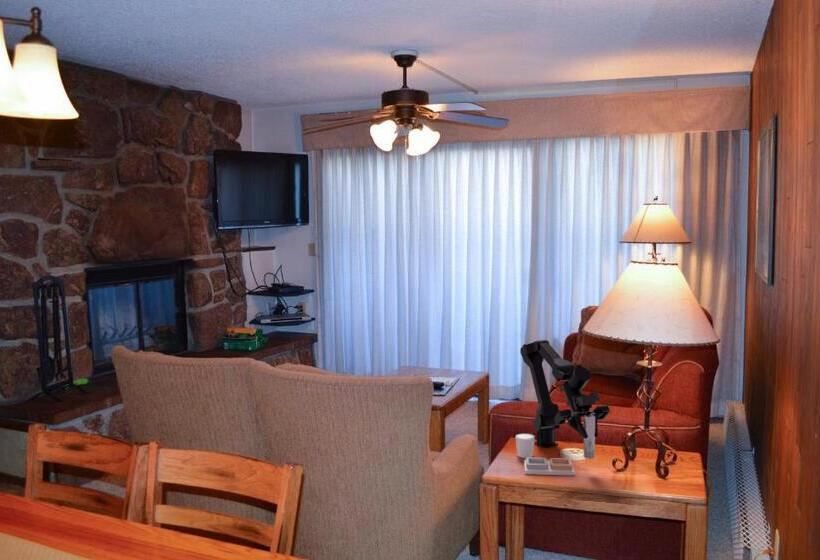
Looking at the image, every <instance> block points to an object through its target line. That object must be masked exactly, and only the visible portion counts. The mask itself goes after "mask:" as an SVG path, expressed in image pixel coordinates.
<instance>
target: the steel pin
mask: <svg viewBox="0 0 820 560" xmlns="http://www.w3.org/2000/svg"><path fill="white" fill-rule="evenodd" d="M583 427H584V429H585V432H586V435H587V438H586V439H585V438H584V437H583V458H584V459H589V460H590V459H592V460H593V459H595V457H596V455H595V454H596V452H595V451H596V450H595V449H596V447H595V446H596V437H595V415H591V414H587V415H584V417H583Z"/></svg>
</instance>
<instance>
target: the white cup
mask: <svg viewBox="0 0 820 560" xmlns="http://www.w3.org/2000/svg"><path fill="white" fill-rule="evenodd" d="M535 438H536V436H535V435H534V434H531V433H518V434H516V435H515V444H516V445H515V446H516V455H517V457H519V458H522V459H526V458H527V457H530V458H533V457H534V450H535V444H534V442H535Z"/></svg>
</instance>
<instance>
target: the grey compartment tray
mask: <svg viewBox="0 0 820 560" xmlns="http://www.w3.org/2000/svg"><path fill="white" fill-rule="evenodd" d="M523 461H524V463H523V464H524V466H523V467H524V473H525V475H542V476H543V475H545V476H546V475H549V476H550V475H552V476H553V475H554V476H575V471H574V466H573V463H572V460H571V459H570V458H567V457H565V458H562V457H550V458H549V460H548V459H547V458H546V457H527V458H525V459H524V460H523Z"/></svg>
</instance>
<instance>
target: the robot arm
mask: <svg viewBox="0 0 820 560" xmlns="http://www.w3.org/2000/svg"><path fill="white" fill-rule="evenodd" d="M519 352H520V356H521V357H522V361H523V363H524V364H525V365H526V366H527V367H529V371H530V374H531V379H532V383H533V387H534V392H535V395H536V400H537V403H538V404H537V408H536V411H535V413H536V417H535V418H534V419H533V421H532V427H533V429H534V430H536V441H534V445H537V446H539V447H542V448H551V447H555V446H558V445H559V443H558V442H556V429H557V430H558V429H560V426H561V425H565V423H566V420H567V424H566V425H567V426H568V427H569V426H570V428H571V429H574V430H575V431H576V432H577V433H578V434H579V435H581V437H582V438H583V439H584V438H585V439H586V438H587V435H586V432H585V429H584V424H583V422H582V418H584V415H587V414H591V415H595V438H598V436H599V434H598V433H599V432H598V428H599V427H598V422H599V421H600V420H604V419H606V418H607V416H608V415H609V414H610V412H611V409H610V406H608V405H607V404H600V405H597V402H600V400H601V399H600V395H599V392H598V391H593V392H590V394H587V395H586V394H585V393H584V394H583V391H582V389H584V387H585V386H586V385H587V383H588V382H590V379H591V377H592V374H591V372H590V371H589V370H588V369H587V368H586V367H585V366H584V367H583V366H582V364H581V363H579V364H575V365H574V364H573V363H572V362H571V361H569V360H566V359H564V358H562V357H561V356H560V354H559V353H558V352H557V351H556V350H555V349H554V348H553V347H552V345H551V344H550V341H549V340H547V339H540V340H539V339H538V340H536V341H533V342H529V343H523V345H522V346H521V347H520V351H519ZM544 361H546V363H547V364H548V366H550V368H551V375H552V376H553V378H554V379H555V381H557V382H564V383H561V386H560V392H561V393H562V392H563V393H564V395H565V398H566V401H567V403H566V407H569V409H568V408H567V409H566V408H565V409H559V405H558V404H557V403H554V402H553V401H552V398H551V395H550V390H549V387H548V386H549V385H548V383H547V378H546V373H545V371H544V367H543V362H544ZM593 405H596V406H595V407H594V409H592V408H593ZM590 409H591V410H590Z"/></svg>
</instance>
